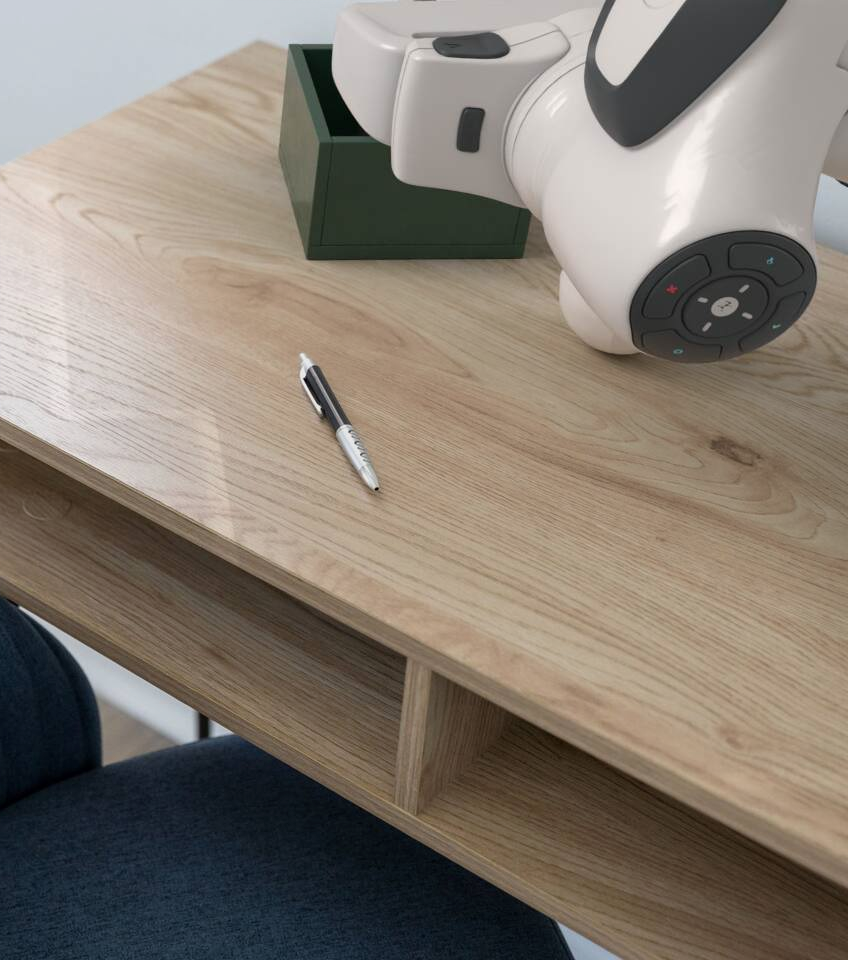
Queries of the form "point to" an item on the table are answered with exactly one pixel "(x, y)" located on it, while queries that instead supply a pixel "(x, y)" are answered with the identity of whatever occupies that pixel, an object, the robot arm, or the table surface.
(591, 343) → the seamed sphere
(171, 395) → the table surface
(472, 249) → the bin
